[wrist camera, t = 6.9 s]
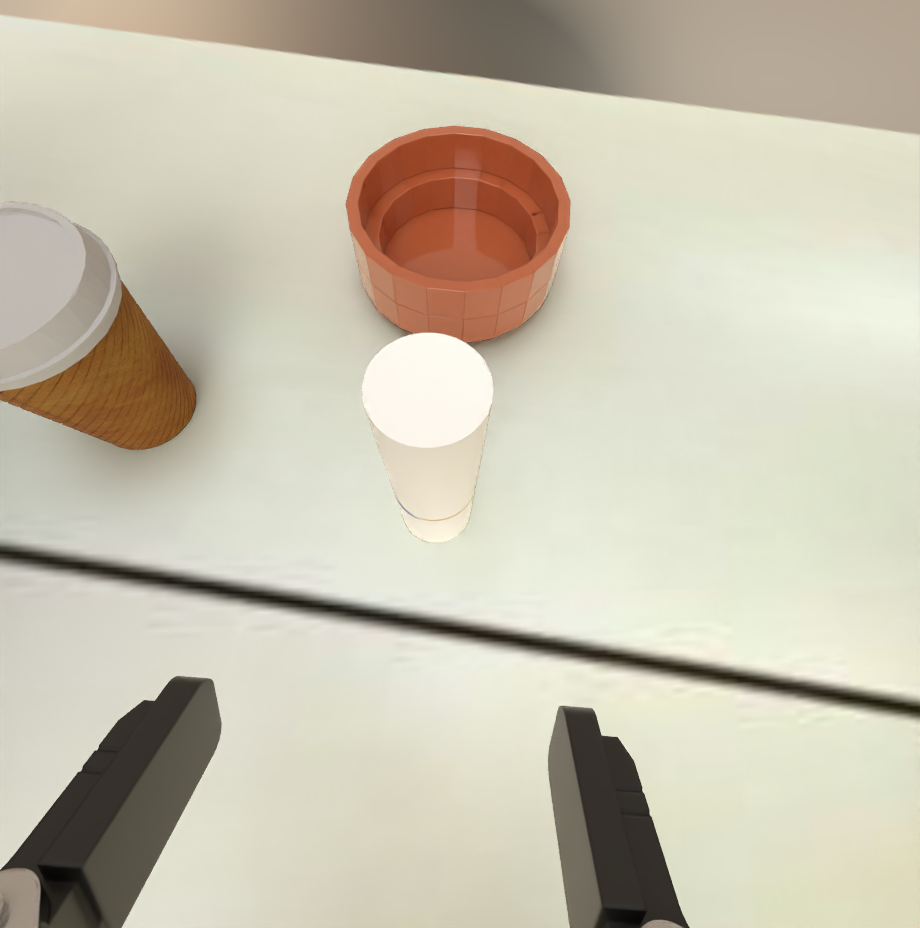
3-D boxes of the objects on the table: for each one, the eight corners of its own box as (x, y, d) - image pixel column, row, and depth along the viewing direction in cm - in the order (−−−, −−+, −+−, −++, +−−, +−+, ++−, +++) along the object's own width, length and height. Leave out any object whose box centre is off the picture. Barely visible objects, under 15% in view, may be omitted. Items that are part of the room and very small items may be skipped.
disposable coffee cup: (140, 326, 33) (-15, 167, 22) (249, 382, 32) (144, 243, 21) (40, 432, 30) (-201, 310, 19) (156, 499, 29) (-29, 410, 18)
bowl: (463, 386, 32) (467, 332, 27) (322, 271, 36) (299, 202, 30) (588, 268, 36) (614, 200, 31) (451, 174, 40) (452, 98, 34)
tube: (477, 486, 30) (506, 348, 16) (461, 550, 28) (476, 462, 14) (413, 469, 30) (384, 320, 16) (393, 533, 28) (343, 429, 14)
